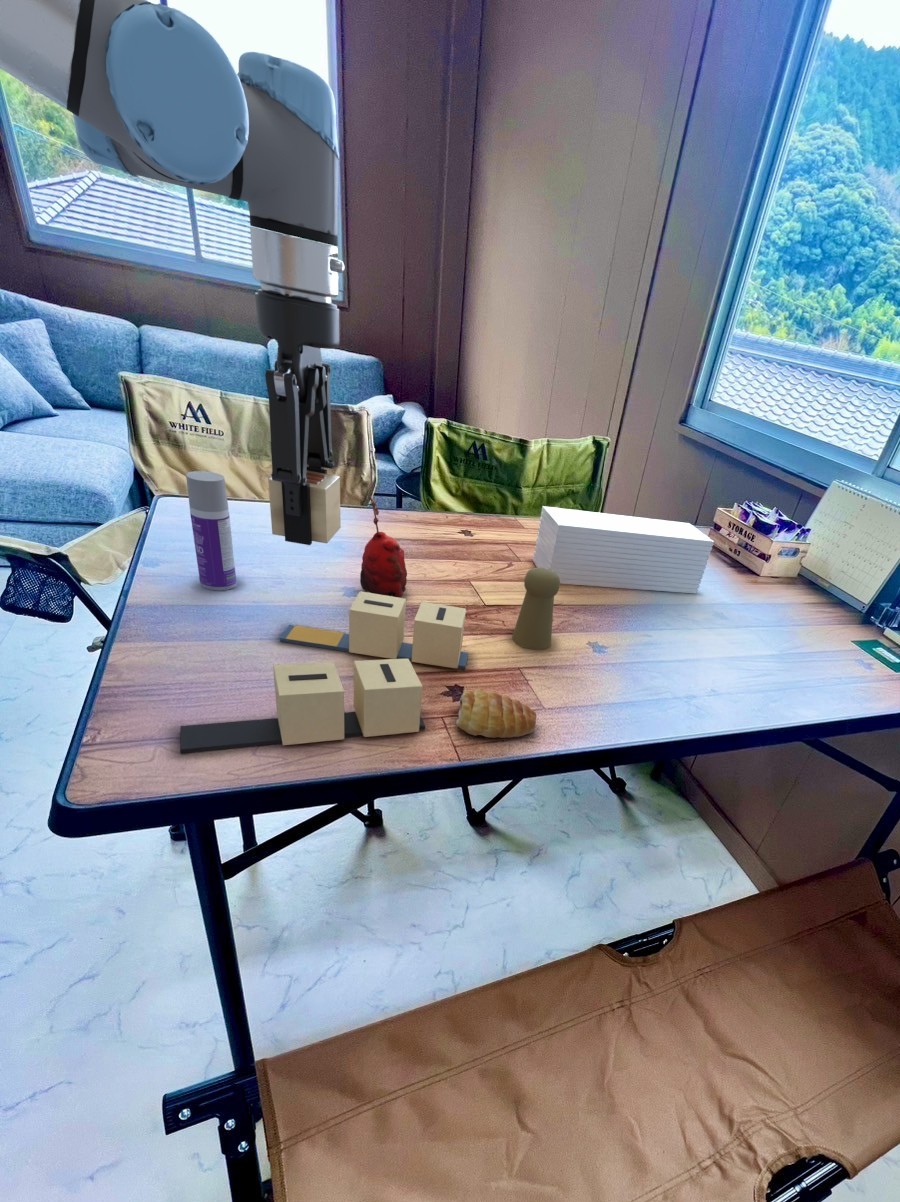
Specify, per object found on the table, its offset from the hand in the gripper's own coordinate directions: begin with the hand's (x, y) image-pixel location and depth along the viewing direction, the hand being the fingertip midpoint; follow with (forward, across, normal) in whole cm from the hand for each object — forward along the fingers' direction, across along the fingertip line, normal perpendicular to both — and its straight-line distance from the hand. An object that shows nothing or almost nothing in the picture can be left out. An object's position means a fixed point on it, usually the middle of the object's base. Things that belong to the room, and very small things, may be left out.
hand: (307, 532), depth 72 cm
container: (+15, +14, +17) cm, 26 cm away
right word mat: (+15, +2, -8) cm, 17 cm away
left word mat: (+15, -18, -5) cm, 24 cm away
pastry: (+15, -12, -24) cm, 31 cm away
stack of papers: (+15, +46, -46) cm, 67 cm away
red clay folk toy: (+15, +21, -5) cm, 26 cm away
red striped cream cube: (0, 0, 0) cm, 0 cm away
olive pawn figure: (+15, +12, -29) cm, 35 cm away
